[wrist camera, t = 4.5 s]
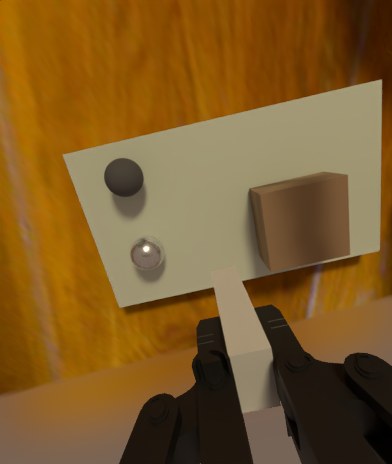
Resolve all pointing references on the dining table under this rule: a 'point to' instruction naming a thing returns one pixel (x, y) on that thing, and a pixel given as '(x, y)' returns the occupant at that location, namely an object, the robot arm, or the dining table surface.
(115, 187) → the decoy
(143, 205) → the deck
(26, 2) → the dining table surface
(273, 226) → the cover
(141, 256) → the ball
